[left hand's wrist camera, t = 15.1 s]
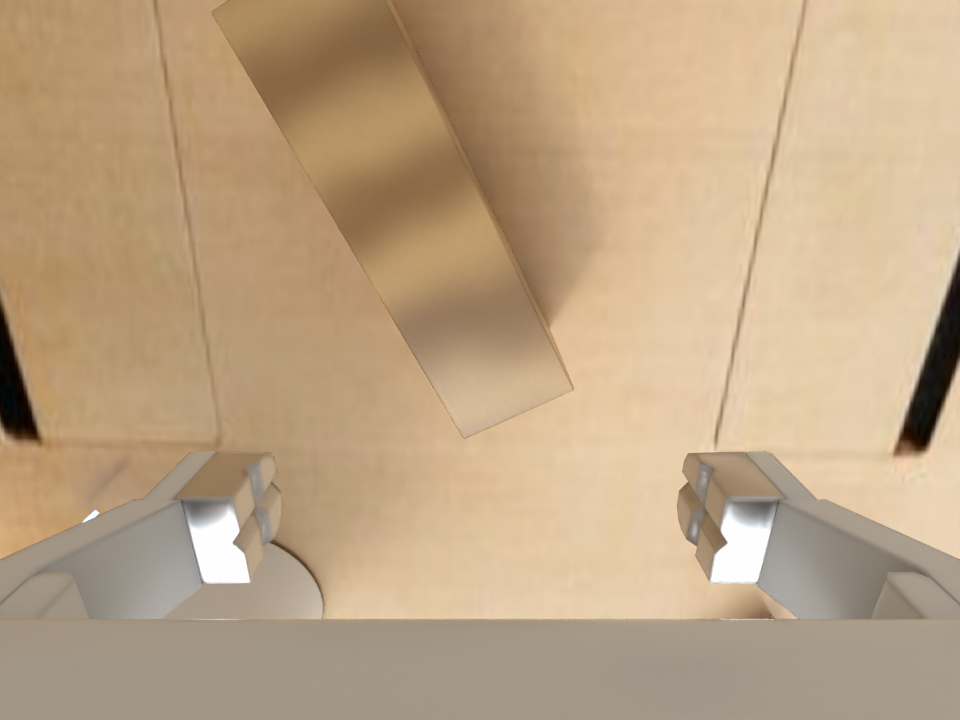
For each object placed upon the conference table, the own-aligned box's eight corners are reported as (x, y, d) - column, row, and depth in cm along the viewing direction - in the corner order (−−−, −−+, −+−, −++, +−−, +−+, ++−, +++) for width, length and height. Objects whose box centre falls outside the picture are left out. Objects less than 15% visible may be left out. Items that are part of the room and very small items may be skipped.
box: (550, 329, 35) (575, 390, 26) (467, 368, 36) (463, 440, 27) (390, -3, 28) (347, -80, 19) (294, 57, 29) (209, 11, 20)
